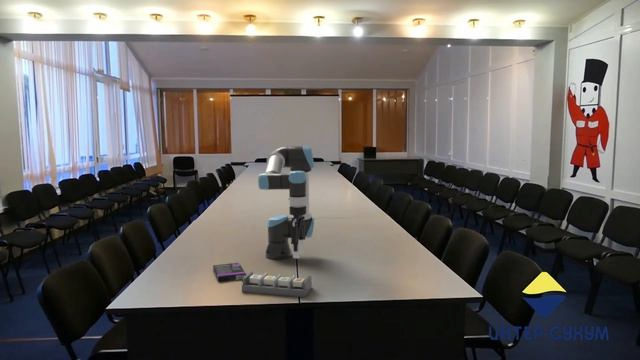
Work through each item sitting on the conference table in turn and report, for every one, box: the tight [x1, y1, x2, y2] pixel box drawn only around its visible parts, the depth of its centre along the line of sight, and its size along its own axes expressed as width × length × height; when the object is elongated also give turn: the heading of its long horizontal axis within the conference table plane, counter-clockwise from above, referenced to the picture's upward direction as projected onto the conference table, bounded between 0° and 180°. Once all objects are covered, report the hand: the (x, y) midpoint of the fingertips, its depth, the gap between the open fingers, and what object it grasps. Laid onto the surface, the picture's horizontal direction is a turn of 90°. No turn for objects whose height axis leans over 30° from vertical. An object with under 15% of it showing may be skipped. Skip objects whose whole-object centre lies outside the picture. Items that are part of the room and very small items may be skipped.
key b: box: [249, 274, 263, 284], centre depth 208 cm, size 4×4×3 cm
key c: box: [293, 277, 306, 287], centre depth 203 cm, size 4×4×3 cm
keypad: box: [241, 270, 313, 298], centre depth 206 cm, size 12×30×6 cm, turn 76°
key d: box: [264, 275, 277, 285], centre depth 207 cm, size 4×4×3 cm
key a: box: [278, 276, 291, 286], centre depth 205 cm, size 4×4×3 cm
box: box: [212, 262, 247, 283], centre depth 228 cm, size 14×4×20 cm
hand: (298, 255), depth 202 cm, fingers open, 6 cm apart
